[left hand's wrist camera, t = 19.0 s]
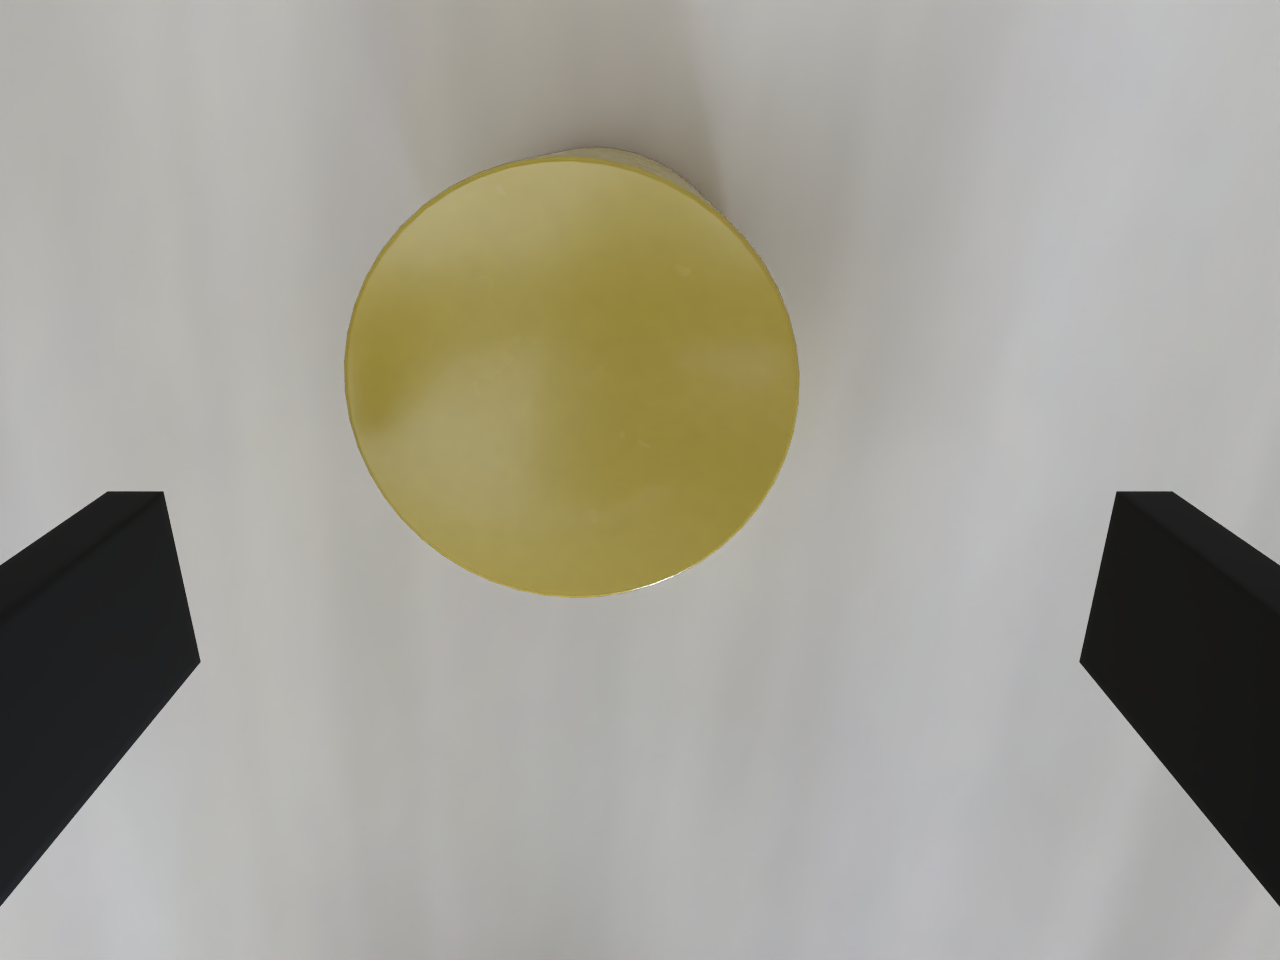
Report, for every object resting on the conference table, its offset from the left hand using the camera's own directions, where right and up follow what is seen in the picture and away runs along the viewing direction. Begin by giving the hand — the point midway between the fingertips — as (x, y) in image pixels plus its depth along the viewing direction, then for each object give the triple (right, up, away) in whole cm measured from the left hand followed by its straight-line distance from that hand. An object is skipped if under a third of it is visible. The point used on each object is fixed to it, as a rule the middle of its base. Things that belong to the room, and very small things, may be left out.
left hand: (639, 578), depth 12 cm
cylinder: (-1, +7, +15) cm, 17 cm away
